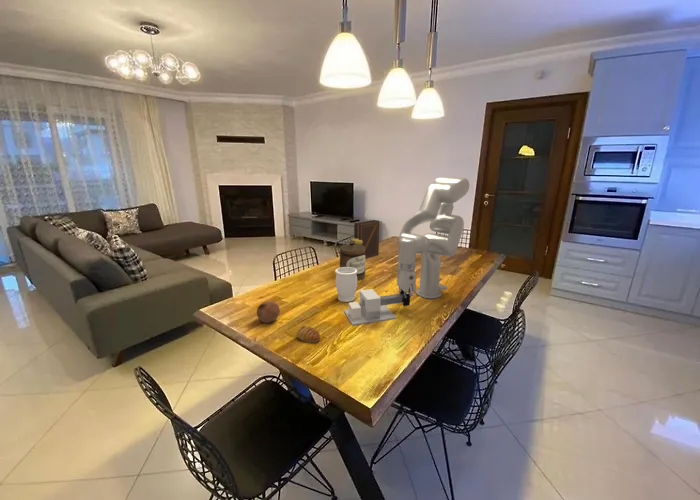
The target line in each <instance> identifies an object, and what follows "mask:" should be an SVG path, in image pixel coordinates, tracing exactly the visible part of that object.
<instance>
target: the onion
mask: <svg viewBox="0 0 700 500" xmlns="http://www.w3.org/2000/svg"><path fill="white" fill-rule="evenodd" d="M280 312H281V309H280V306H279V305H278V303H277V302H276V301H274V300H266V301H264V302H262V303H261V304H259V305H258V306H257V309H256V316H257V319H259V320H258V321H261V322H262V323H265V324H268V323H271V322H274V321H275V320H277V318H278V317H279V315H280Z"/></svg>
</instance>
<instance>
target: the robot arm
mask: <svg viewBox="0 0 700 500" xmlns="http://www.w3.org/2000/svg"><path fill="white" fill-rule="evenodd" d="M469 190H470V182H469V179H468V178H466V177H457V176H456V177H455V176H439V177H437V178H435V179H434V181H433V183H431V184H430V185H428V186H427V188H426V191H425V192H424V196H423V197H422V198H423V199H422V201H421V204H420V206H419V209H418V211H417V212H416V213H414V214H413V215H412V216H410V218H408V219H407V220H406V221H405V222H404V224H403V226H402V229H401V230H400V232H399V236H398V241H397V242H398V252H397V275H396V285H397V287H398V294H402V293H404V297H403V303H402V306H404V307H406V306H410V304H411V297H412V296H413V297H414V292H415V293H416V294H417V295H418V296H419V297H421V298H424V299H431V300H432V299H437V298H438V299H439V298H440V297H441V296H442V290H443V291H444V290H448V286H447V285H442V284H440V278H441V277H440V276H441V274H440V273H441V264H442V262H441V261H442V260H441V258H440V256H443V257H453V256H454V255H455V254H456V252H457V250H458V247H459V244H460V242H461V239H462V238H461V237H462V234H463V232H464V227H465V221H464V218H463V217H462V216H460V215H458V214H453V210H454V204H455V203H457V202H458V201H459V200H460V199H462V198H463V197H464V196H466V195H467V194H468V192H469ZM425 223H429V229H430V231H432V233H429V232H428V233H425V234H424V235H421V234H416V233H412V232H413V230H414V229H415V228H416V227H418V226H420V225H421V224H425ZM433 232H435V233H433ZM438 233H439V234H438ZM443 234H444V235H443ZM445 234H446V235H445ZM417 254H421V261H420V272H419V273H420V275H419V276H420V277H419V287H418V288H417V287H416V286H417V280H416V278H417V277H416V271H415V270H416V259H417V258H416V257H417ZM406 293H407V295H406Z"/></svg>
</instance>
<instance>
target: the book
mask: <svg viewBox="0 0 700 500" xmlns="http://www.w3.org/2000/svg"><path fill="white" fill-rule="evenodd" d="M353 226H354V227H353V229H354V230H353V232H354V233H353V234H354V235H353V238H352V239H351V241H355V244H359V245H363V246H365V260H366V259H370V258H373V257H377V256H379V251H380V250H379V248H380V247H379V246H380V220H376V219H373V220H372V219H371V220H366V221H365V220H364V221H359V222H355V223H354V224H353Z"/></svg>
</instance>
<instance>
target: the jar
mask: <svg viewBox="0 0 700 500" xmlns="http://www.w3.org/2000/svg"><path fill="white" fill-rule="evenodd" d="M335 274H336V276H335V287H336V292H337V294H338V296H337V299H338V300H339V301H340V302H343V303H351V302H352V301H353V302H354V301H355V299H356V296H355V295H356V293H357V287H358V281H357V275H356V274H357V269H355V268H352V267H342V268H340V267H338V268H336V269H335Z"/></svg>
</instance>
